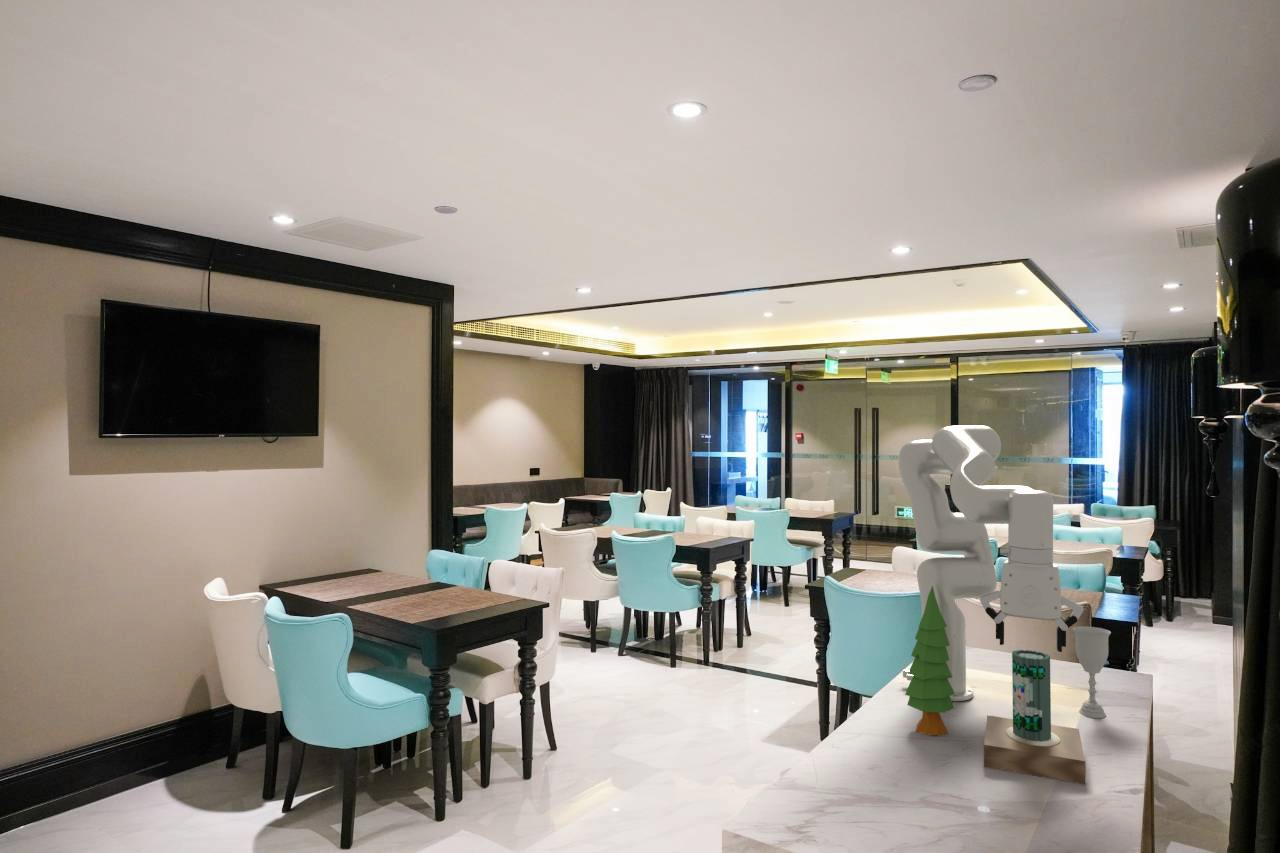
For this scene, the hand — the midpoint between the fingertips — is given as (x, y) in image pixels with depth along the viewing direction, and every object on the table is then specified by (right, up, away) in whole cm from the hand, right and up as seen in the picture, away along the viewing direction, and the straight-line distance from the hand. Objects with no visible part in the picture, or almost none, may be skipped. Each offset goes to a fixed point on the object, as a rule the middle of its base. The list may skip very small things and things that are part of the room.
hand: (1030, 646), depth 142 cm
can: (0, -17, 0) cm, 17 cm away
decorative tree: (-14, -21, +13) cm, 29 cm away
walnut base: (0, -21, -1) cm, 21 cm away
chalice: (+25, -21, +22) cm, 39 cm away
